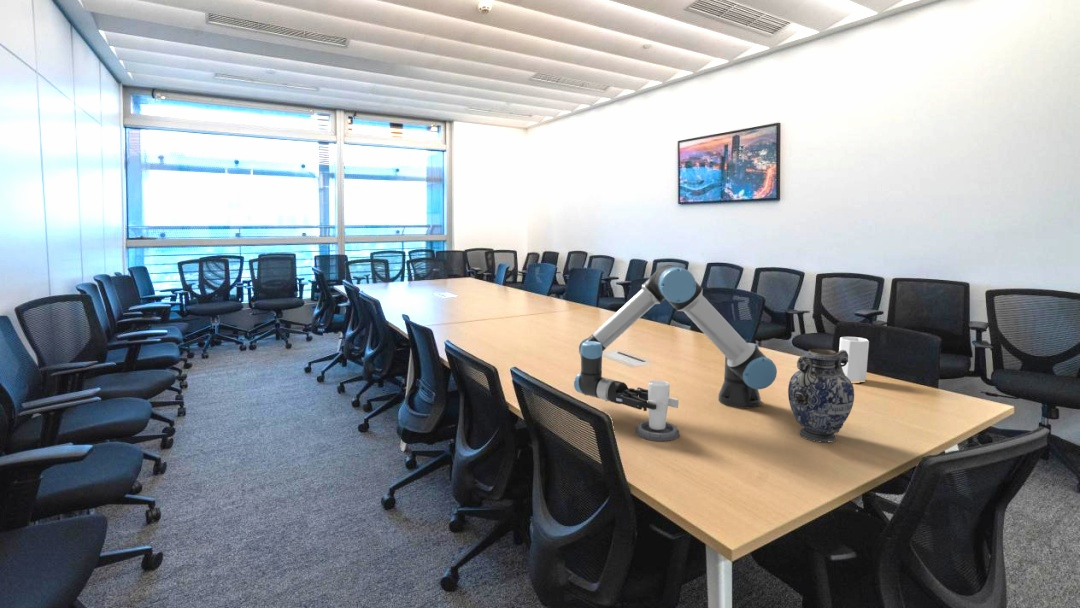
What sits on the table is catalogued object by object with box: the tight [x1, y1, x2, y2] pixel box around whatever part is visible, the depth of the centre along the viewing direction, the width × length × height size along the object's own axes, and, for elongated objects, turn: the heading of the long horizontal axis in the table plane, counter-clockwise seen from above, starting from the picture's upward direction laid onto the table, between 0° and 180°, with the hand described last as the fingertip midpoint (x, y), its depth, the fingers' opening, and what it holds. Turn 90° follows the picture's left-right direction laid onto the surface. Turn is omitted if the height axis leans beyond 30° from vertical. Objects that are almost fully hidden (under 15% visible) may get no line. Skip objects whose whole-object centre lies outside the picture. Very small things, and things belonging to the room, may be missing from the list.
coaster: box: [635, 420, 680, 442], centre depth 173 cm, size 14×14×2 cm
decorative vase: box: [787, 348, 855, 443], centre depth 169 cm, size 21×19×28 cm
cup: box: [838, 336, 870, 381], centre depth 232 cm, size 11×11×18 cm
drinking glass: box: [647, 380, 671, 430], centre depth 172 cm, size 7×7×15 cm
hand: (671, 406), depth 169 cm, fingers closed on drinking glass, 6 cm apart
